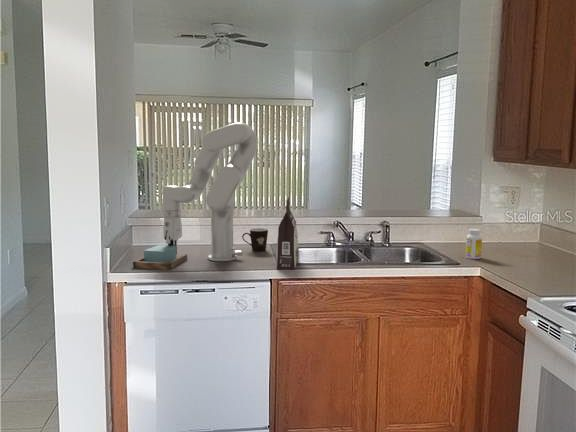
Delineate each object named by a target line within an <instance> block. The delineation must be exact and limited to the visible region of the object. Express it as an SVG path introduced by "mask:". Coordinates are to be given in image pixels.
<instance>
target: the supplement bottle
mask: <svg viewBox="0 0 576 432" xmlns="http://www.w3.org/2000/svg"><path fill="white" fill-rule="evenodd" d="M468 232H469V233H468V234H467V235H466V239H465V258H467V259H469V260H470V259H471V260H480V259H481V258H482V245H483V237H482V236H481V235H480V234H481V230H480V229H477V228H469V229H468Z"/></svg>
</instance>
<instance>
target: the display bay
mask: <svg viewBox="0 0 576 432" xmlns="http://www.w3.org/2000/svg"><path fill="white" fill-rule="evenodd" d="M186 261H188V253H185V254H182V255H181V256H179V257H176V259H175V260H173V261H171V262H169V263H160V262H144V256H142V257H140V258H138V259H136V260H134V261H132V268H134V269H146V270H147V269H149V270H167V271H171V270H172V269H174V268H176V267H177V266H180V265H181V264H182V263H184V262H186Z"/></svg>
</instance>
